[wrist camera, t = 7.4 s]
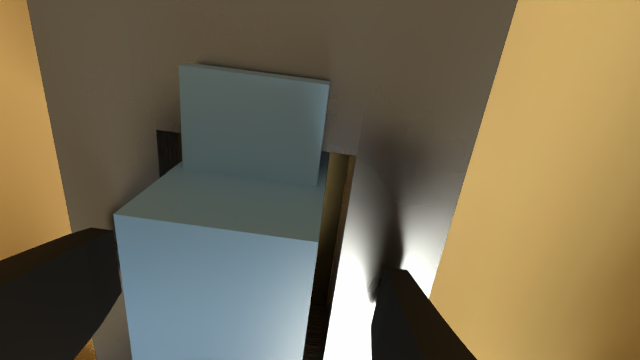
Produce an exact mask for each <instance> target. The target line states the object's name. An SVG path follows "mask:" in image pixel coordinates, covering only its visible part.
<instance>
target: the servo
mask: <svg viewBox="0 0 640 360" xmlns="http://www.w3.org/2000/svg"><path fill="white" fill-rule="evenodd" d="M179 84H180V109H181V134H182V159H183V161H181V162H180V163H179V164H177V165H176V166H175V167H174V168H172V169H171V170H170V171H168V172H167V173H166V174H165V175H163V176H162V177H161V178H159V179H158V180H157V181H155V182H154V183H153V184H152V185H150V186H149V187H148V188H146V189H145V190H144V191H143V192H141V193H140V194H139V195H137V196H136V197H135V198H134V199H132V200H131V201H130V202H128V203H127V204H126V205H125V206H123V207H122V208H121V209H119V210H118V211H117V212H116V213H114V214H113V216H114V223H115V231H116V239H117V246H118V254H119V261H120V269H121V277H122V284H123V292H124V299H125V307H126V315H127V322H128V330H129V337H130V345H131V353H132V360H302V359H303V352H304V344H305V337H306V330H307V323H308V315H309V308H310V301H311V294H312V286H313V279H314V272H315V265H316V257H317V250H318V243H319V235H320V227H321V219H322V211H323V203H324V195H325V187H326V179H327V171H328V163H329V155H330V152H325V151H322V143H323V135H324V127H325V120H326V112H327V104H328V96H329V88H330V81H325V80H317V79H309V78H302V77H294V76H286V75H279V74H271V73H264V72H256V71H248V70H241V69H233V68H225V67H218V66H210V65H203V64H195V63H188V64H183V65H179Z"/></svg>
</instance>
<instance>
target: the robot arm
mask: <svg viewBox="0 0 640 360" xmlns="http://www.w3.org/2000/svg"><path fill="white" fill-rule="evenodd" d="M121 292H122V288H121V281H120V274H119V267H118V260H117V253H116V246H115V238H114V231H113V230H107V229H99V228H92V227H91V228H87V229H84V230H81V231H78V232H75V233H72V234H69V235H66V236H63V237H61V238H58V239H55V240H53V241H50V242H47V243H45V244H42V245H40V246H37V247H35V248H32V249H29V250H27V251H24V252H22V253H19V254H16V255H14V256H11V257H9V258H6V259H4V260H1V261H0V360H74V358H75V357H76V356H77V355H78V353H79V352H80V351H81V350H82V348H83V347H84V346H85V345H86V344H87V342H88V341H89V340H90V339H91V337H92V336H93V335H94V334H95V332H96V331H97V330H98V329H99V327H100V326H101V324H102V323H103V321H104V320H105V318H106V317H107V315H108V314H109V312H110V311H111V309H112V307H113V306H114V304H115V302H116V301H117V299H118V297H119V296H120V294H121ZM371 360H477V359H476V358H475V357H474V355H473V354H472V353H471V352H470V351H469V350H468V349H467V347H466V346H465V345H464V344H463V343H462V341H461V340H460V339H459V338H458V336H457V335H456V334H455V333H454V331H453V330H452V329H451V328H450V326H449V325H448V324H447V323H446V321H445V320H444V319H443V317H442V316H441V315H440V313H439V312H438V311H437V310H436V308H435V307H434V305H433V304H432V303H431V301H430V300H429V299H428V297H427V296H426V295H425V293H424V292H423V290H422V289H421V288H420V286H419V285H418V284H417V282H416V281H415V279H414V278H413V277H412V275H411V274H410V273H409V271H408V270H405V269H398V268H390V267H384V269H383V273H382V278H381V282H380V287H379V291H378V295H377V300H376V304H375V309H374V313H373V318H372V322H371Z"/></svg>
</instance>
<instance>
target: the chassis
mask: <svg viewBox="0 0 640 360" xmlns="http://www.w3.org/2000/svg"><path fill="white" fill-rule="evenodd" d="M517 1H518V0H27V5H28V10H29V15H30V20H31V25H32V30H33V35H34V41H35V46H36V51H37V56H38V61H39V66H40V71H41V76H42V82H43V87H44V92H45V97H46V102H47V107H48V112H49V117H50V123H51V128H52V133H53V138H54V143H55V148H56V153H57V159H58V164H59V169H60V174H61V179H62V184H63V189H64V194H65V200H66V205H67V210H68V215H69V220H70V225H71V230H72V233H75V232H78V231H81V230H84V229H87V228H91V227H92V228H99V229H107V230H113V231H114V238H115V246H116V253H117V260H118V267H119V274H120V281H121V288H122V292H121V294H120V296H119V297H118V299H117V301H116V302H115V304H114V306H113V307H112V309H111V311H110V312H109V314H108V315H107V317H106V318H105V320H104V321H103V323H102V324H101V326H100V327H99V329H98V330H97V331H96V332H95V334H94V335H93V336H92V338H93V343H94V348H95V353H96V359H97V360H132V353H131V345H130V337H129V330H128V322H127V315H126V307H125V299H124V292H123V284H122V277H121V269H120V261H119V254H118V246H117V239H116V231H115V223H114V216H113V214H114V213H116V212H117V211H118V210H119V209H121V208H122V207H123V206H125V205H126V204H127V203H128V202H130V201H131V200H132V199H134V198H135V197H136V196H137V195H139V194H140V193H141V192H143V191H144V190H145V189H146V188H148V187H149V186H150V185H152V184H153V183H154V182H155V181H157V180H158V179H159V178H161V177H162V176H163V175H165V174H166V173H167V172H168V171H170V170H171V169H172V168H174V167H175V166H176V165H177V164H179V163H180V162H181V161H183V159H182V134H181V109H180V84H179V65H183V64H188V63H195V64H203V65H210V66H218V67H225V68H233V69H241V70H248V71H256V72H264V73H271V74H279V75H286V76H294V77H302V78H309V79H317V80H325V81H330V88H329V96H328V104H327V112H326V120H325V127H324V135H323V143H322V151H325V152H333V153H341V154H349V159H348V166H347V172H346V179H345V185H344V192H343V198H342V205H341V211H340V218H339V224H338V231H337V237H336V244H335V250H334V257H333V263H332V270H331V276H330V283H329V289H328V296H327V302H326V306H318V305H311V304H310V308H309V315H308V323H307V330H306V337H305V344H304V352H303V359H302V360H371V322H372V318H373V313H374V309H375V304H376V300H377V295H378V291H379V287H380V282H381V278H382V273H383V269H384V267H390V268H398V269H405V270H408V271H409V273H410V274H411V275H412V277H413V278H414V279H415V281H416V282H417V284H418V285H419V286H420V288H421V289H422V290H423V292H424V293H425V295H426V296H427V297H428V298H429V295H430V292H431V288H432V285H433V282H434V278H435V275H436V272H437V268H438V265H439V262H440V258H441V255H442V252H443V248H444V245H445V242H446V238H447V235H448V232H449V228H450V225H451V222H452V218H453V215H454V212H455V208H456V205H457V202H458V198H459V195H460V192H461V188H462V185H463V182H464V178H465V175H466V172H467V168H468V165H469V162H470V158H471V155H472V151H473V148H474V145H475V141H476V138H477V135H478V131H479V128H480V125H481V121H482V118H483V115H484V111H485V108H486V105H487V101H488V98H489V95H490V91H491V88H492V85H493V81H494V78H495V75H496V71H497V68H498V65H499V61H500V58H501V55H502V51H503V48H504V45H505V41H506V38H507V35H508V31H509V28H510V25H511V21H512V18H513V15H514V11H515V8H516V5H517Z"/></svg>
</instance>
